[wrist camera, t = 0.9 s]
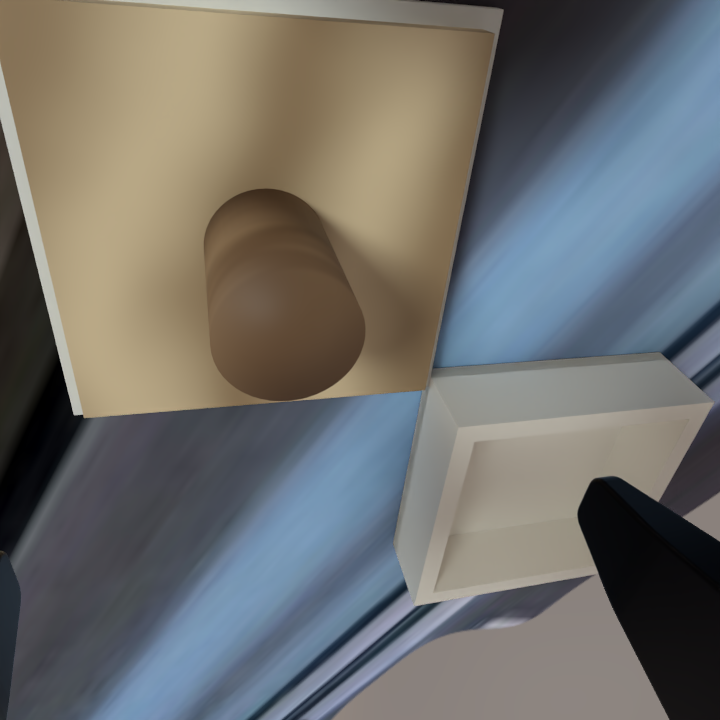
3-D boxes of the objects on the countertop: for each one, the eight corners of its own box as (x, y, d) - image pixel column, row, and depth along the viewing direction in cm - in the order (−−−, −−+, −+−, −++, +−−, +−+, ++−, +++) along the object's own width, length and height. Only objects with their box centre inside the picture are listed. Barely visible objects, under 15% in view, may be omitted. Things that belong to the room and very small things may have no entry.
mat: (496, 7, 16) (503, 9, 16) (424, 379, 24) (428, 386, 24) (-32, -39, 13) (-39, -38, 13) (76, 405, 21) (74, 414, 20)
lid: (482, 29, 16) (599, 71, 12) (418, 377, 23) (476, 488, 19) (-7, -9, 13) (-104, 28, 9) (87, 402, 20) (59, 541, 16)
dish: (659, 352, 26) (714, 402, 24) (583, 515, 33) (619, 569, 30) (426, 369, 24) (458, 427, 21) (392, 543, 30) (414, 606, 27)
